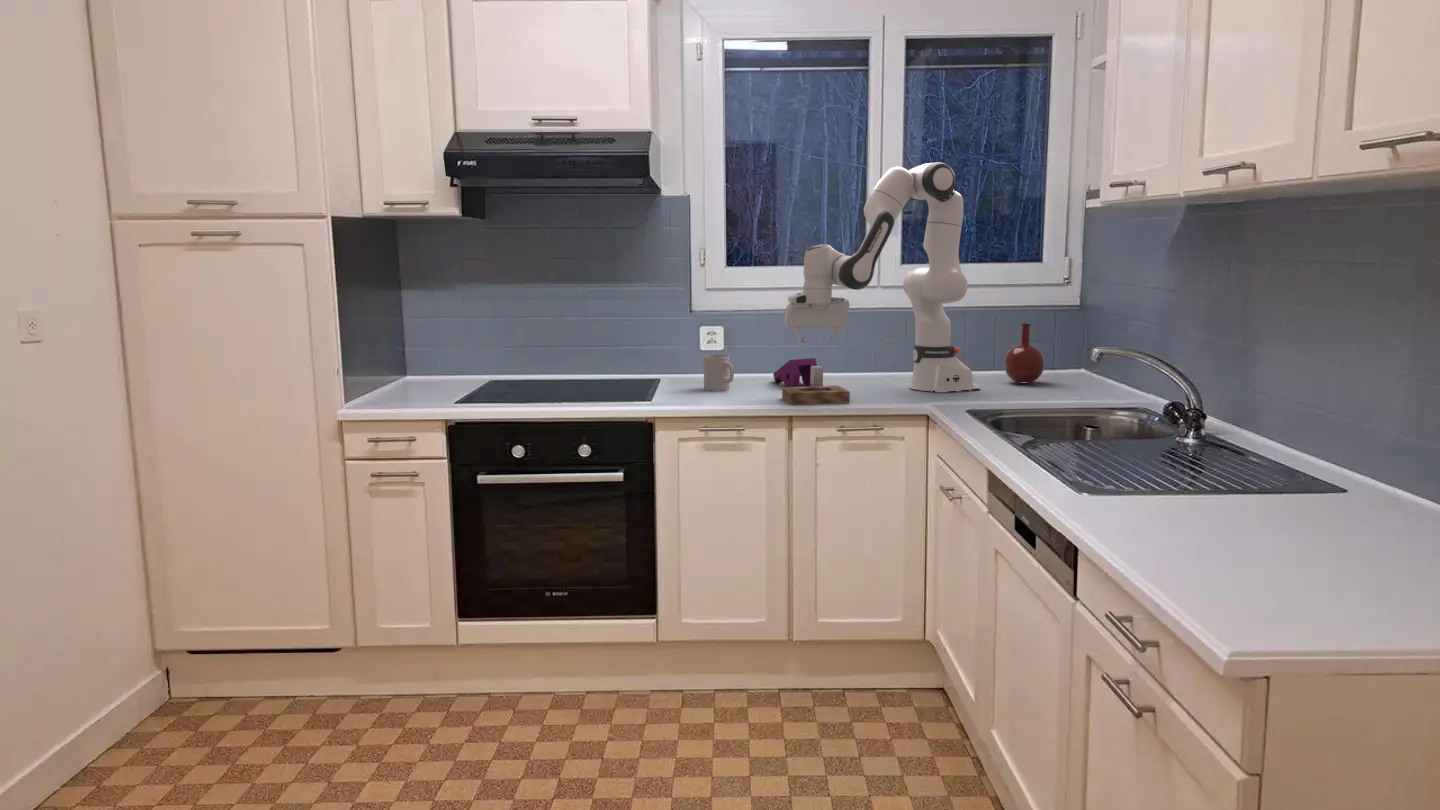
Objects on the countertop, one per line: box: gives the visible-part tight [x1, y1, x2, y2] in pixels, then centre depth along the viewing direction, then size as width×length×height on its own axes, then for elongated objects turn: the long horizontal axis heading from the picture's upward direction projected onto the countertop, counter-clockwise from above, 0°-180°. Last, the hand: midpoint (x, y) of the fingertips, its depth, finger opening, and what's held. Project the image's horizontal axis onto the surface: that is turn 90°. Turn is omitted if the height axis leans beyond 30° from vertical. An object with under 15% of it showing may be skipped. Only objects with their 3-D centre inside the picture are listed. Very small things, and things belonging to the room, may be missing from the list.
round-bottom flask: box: [1003, 323, 1046, 383], centre depth 329 cm, size 13×13×20 cm
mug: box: [703, 354, 735, 391], centre depth 322 cm, size 12×8×11 cm
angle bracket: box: [810, 365, 824, 386], centre depth 309 cm, size 8×4×9 cm, turn 99°
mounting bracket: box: [773, 357, 818, 387], centre depth 332 cm, size 9×8×18 cm
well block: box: [781, 384, 851, 406], centre depth 300 cm, size 18×12×4 cm, turn 99°
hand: (816, 341), depth 308 cm, fingers open, 8 cm apart
